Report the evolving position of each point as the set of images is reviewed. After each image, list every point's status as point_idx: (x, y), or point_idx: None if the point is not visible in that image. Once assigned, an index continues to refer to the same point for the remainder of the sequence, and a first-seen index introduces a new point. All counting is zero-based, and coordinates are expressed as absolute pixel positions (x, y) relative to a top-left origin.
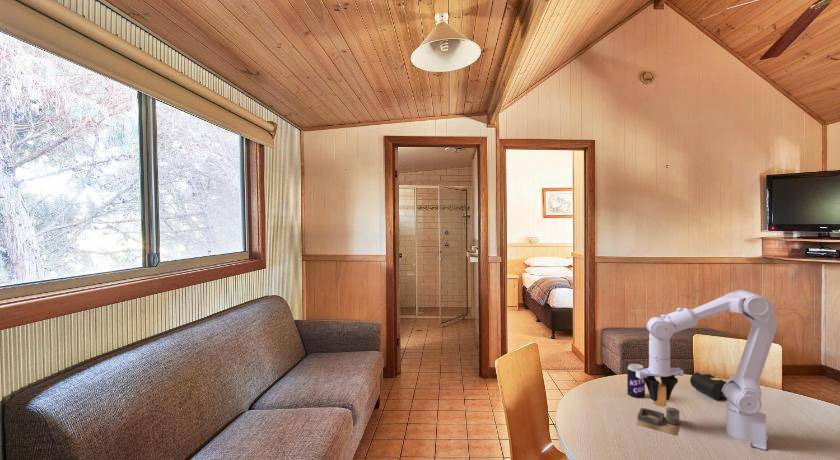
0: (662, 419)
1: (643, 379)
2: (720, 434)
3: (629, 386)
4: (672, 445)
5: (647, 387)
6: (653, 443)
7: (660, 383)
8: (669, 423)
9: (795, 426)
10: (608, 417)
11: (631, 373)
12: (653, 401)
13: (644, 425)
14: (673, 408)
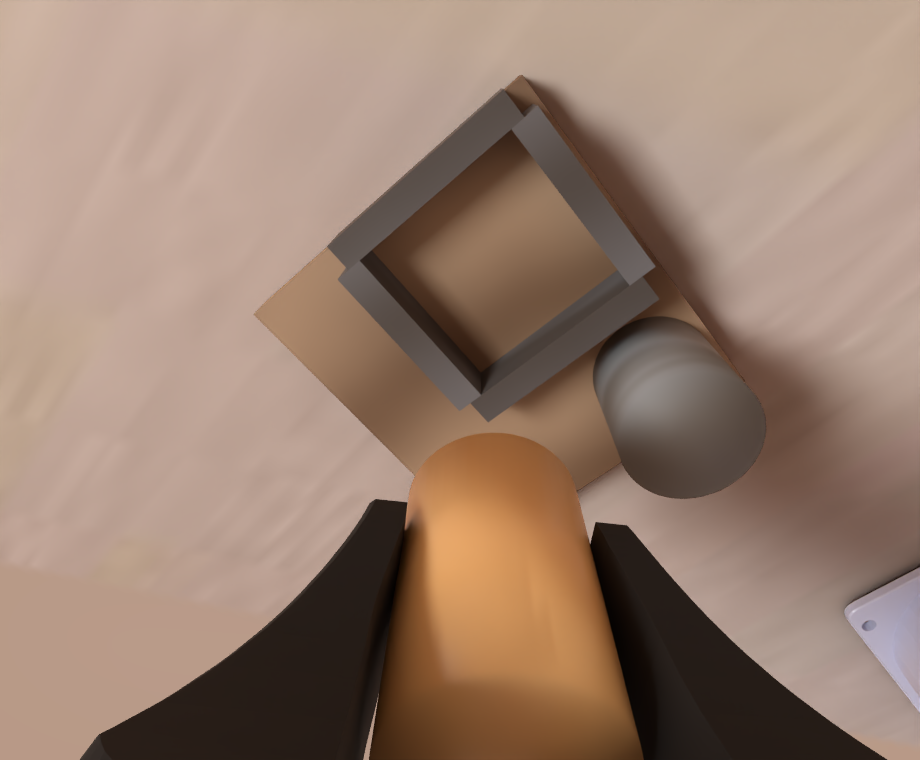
0: (543, 376)
1: (149, 717)
2: (898, 547)
3: None
4: None
5: (293, 606)
6: (262, 520)
7: (610, 719)
8: (594, 392)
9: None
10: (83, 8)
11: None
12: (410, 499)
13: (326, 351)
14: (746, 405)
